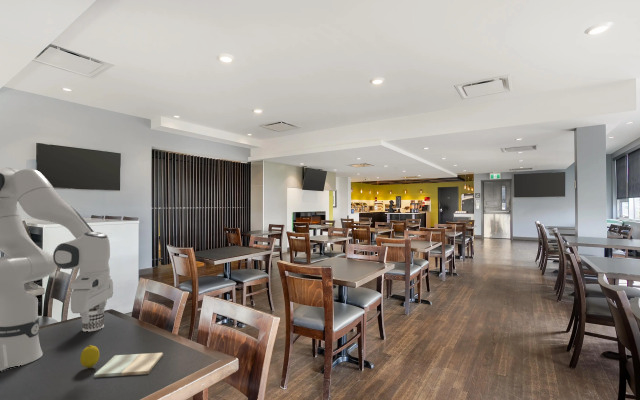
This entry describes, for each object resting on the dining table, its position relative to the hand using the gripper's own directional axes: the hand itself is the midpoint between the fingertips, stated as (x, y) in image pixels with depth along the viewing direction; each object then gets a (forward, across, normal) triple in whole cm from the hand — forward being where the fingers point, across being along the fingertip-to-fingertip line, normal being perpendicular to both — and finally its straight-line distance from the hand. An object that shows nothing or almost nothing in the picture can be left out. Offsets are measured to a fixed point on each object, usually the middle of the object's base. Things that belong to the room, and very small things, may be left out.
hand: (93, 317), depth 115 cm
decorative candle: (+18, -41, -21) cm, 49 cm away
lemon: (+18, 0, -1) cm, 18 cm away
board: (+17, 0, +13) cm, 21 cm away
